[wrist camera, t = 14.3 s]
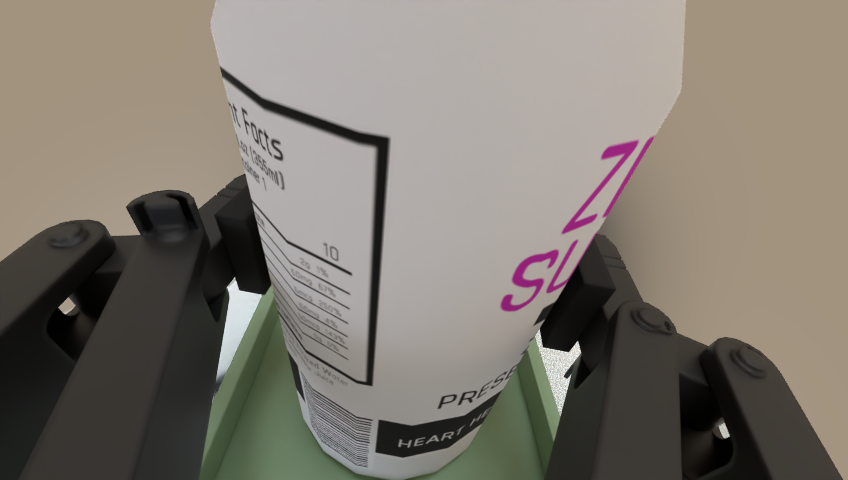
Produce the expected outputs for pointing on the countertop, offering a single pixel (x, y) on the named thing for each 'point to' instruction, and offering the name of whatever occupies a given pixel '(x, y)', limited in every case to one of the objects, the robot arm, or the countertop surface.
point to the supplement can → (432, 191)
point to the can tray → (322, 474)
